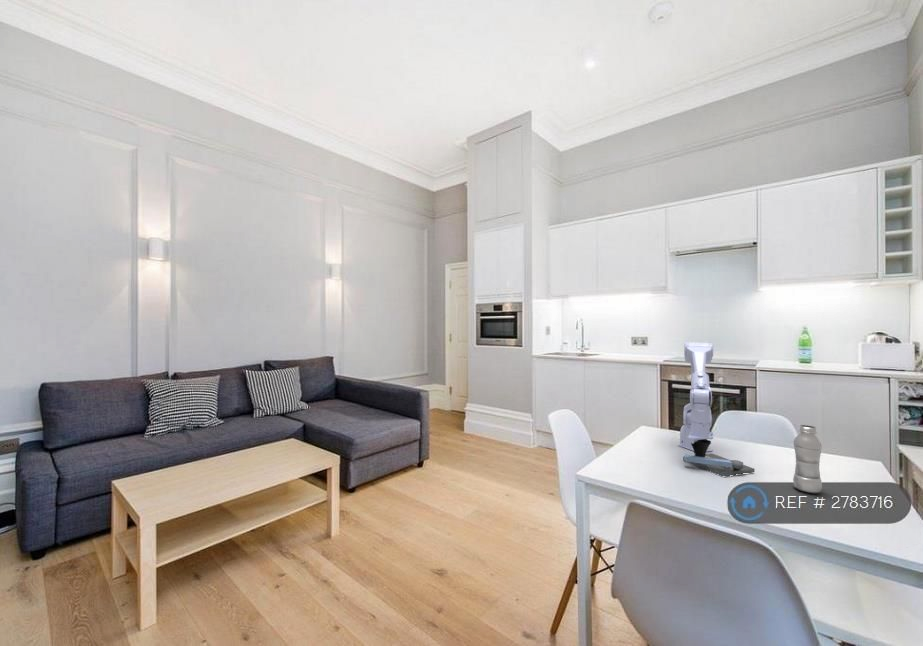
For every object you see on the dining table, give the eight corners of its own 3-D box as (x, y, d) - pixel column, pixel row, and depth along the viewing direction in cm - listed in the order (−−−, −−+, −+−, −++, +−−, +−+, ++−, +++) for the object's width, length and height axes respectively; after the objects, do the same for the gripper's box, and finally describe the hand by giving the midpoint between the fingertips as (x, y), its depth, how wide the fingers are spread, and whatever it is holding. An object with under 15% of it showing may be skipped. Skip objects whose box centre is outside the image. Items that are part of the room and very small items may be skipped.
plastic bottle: (827, 497, 113) (828, 430, 113) (801, 494, 114) (802, 428, 114) (812, 487, 119) (813, 424, 119) (787, 485, 121) (788, 423, 121)
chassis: (683, 460, 142) (683, 455, 142) (711, 457, 146) (711, 452, 146) (724, 477, 127) (724, 471, 127) (754, 473, 131) (754, 467, 131)
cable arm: (741, 466, 131) (741, 460, 131) (744, 469, 127) (744, 464, 127) (683, 458, 138) (684, 453, 138) (685, 461, 134) (685, 456, 134)
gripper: (702, 427, 129) (701, 467, 129) (722, 421, 137) (721, 459, 137) (681, 422, 135) (680, 460, 135) (701, 417, 143) (700, 453, 143)
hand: (699, 459), depth 136 cm, fingers closed
